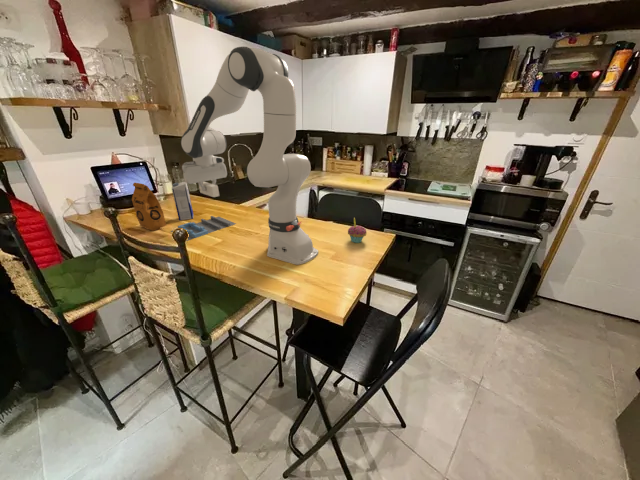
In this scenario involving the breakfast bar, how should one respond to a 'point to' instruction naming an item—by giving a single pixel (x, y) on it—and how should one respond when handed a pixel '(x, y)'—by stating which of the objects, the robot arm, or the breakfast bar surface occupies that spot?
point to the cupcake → (356, 233)
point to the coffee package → (147, 208)
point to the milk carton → (182, 201)
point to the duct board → (205, 226)
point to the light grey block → (210, 189)
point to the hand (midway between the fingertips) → (208, 189)
